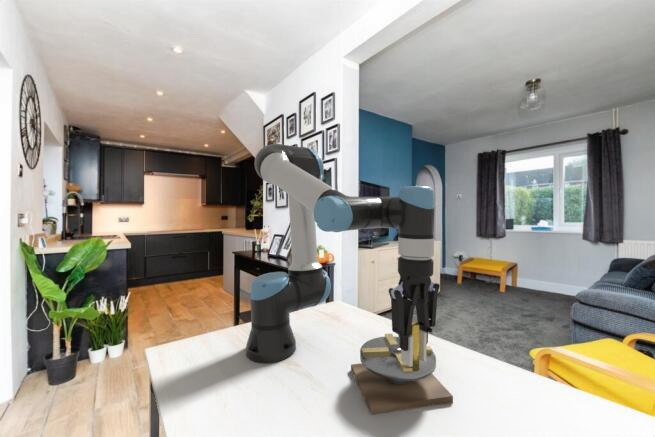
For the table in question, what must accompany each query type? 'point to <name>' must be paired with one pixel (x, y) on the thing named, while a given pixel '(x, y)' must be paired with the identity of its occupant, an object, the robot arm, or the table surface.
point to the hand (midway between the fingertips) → (413, 360)
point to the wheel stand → (398, 391)
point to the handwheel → (396, 358)
